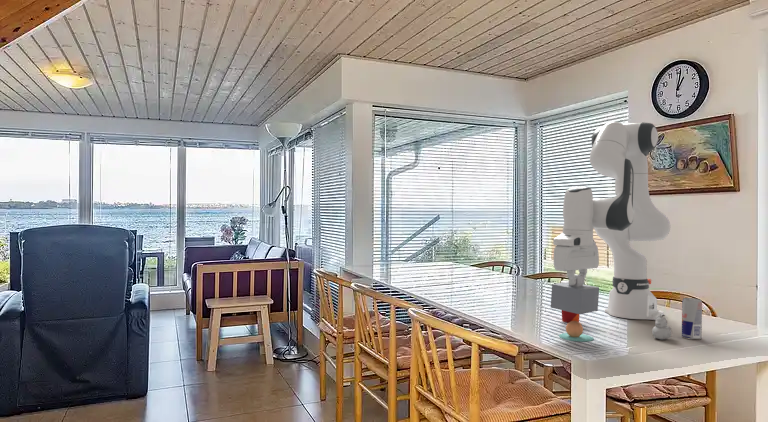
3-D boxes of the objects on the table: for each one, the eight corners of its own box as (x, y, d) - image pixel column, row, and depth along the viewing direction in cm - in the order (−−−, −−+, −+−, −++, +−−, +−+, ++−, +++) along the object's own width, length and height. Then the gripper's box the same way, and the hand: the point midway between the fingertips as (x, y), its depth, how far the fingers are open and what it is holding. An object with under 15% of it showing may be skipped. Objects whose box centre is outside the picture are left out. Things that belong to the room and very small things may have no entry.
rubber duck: (646, 338, 164) (647, 312, 164) (661, 336, 167) (662, 310, 167) (662, 342, 159) (662, 315, 159) (677, 340, 162) (677, 314, 162)
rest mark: (570, 332, 170) (570, 331, 170) (599, 338, 163) (599, 337, 163) (552, 336, 164) (552, 336, 164) (582, 343, 156) (582, 342, 156)
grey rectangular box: (568, 304, 171) (570, 271, 170) (597, 310, 163) (599, 276, 163) (550, 307, 164) (552, 273, 164) (580, 314, 157) (582, 279, 156)
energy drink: (680, 335, 168) (681, 297, 168) (699, 336, 166) (700, 298, 166) (683, 338, 163) (683, 300, 163) (703, 340, 161) (703, 301, 161)
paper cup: (583, 324, 182) (584, 283, 182) (560, 323, 184) (561, 282, 184) (580, 319, 190) (580, 280, 190) (557, 318, 191) (558, 279, 191)
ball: (587, 323, 163) (584, 339, 164) (573, 317, 167) (570, 332, 167) (578, 325, 160) (574, 341, 161) (564, 319, 164) (560, 334, 164)
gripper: (585, 238, 172) (585, 280, 172) (549, 239, 159) (549, 285, 159) (604, 239, 167) (603, 282, 167) (569, 240, 154) (568, 288, 154)
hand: (576, 284), depth 163 cm, fingers closed on grey rectangular box, 3 cm apart
